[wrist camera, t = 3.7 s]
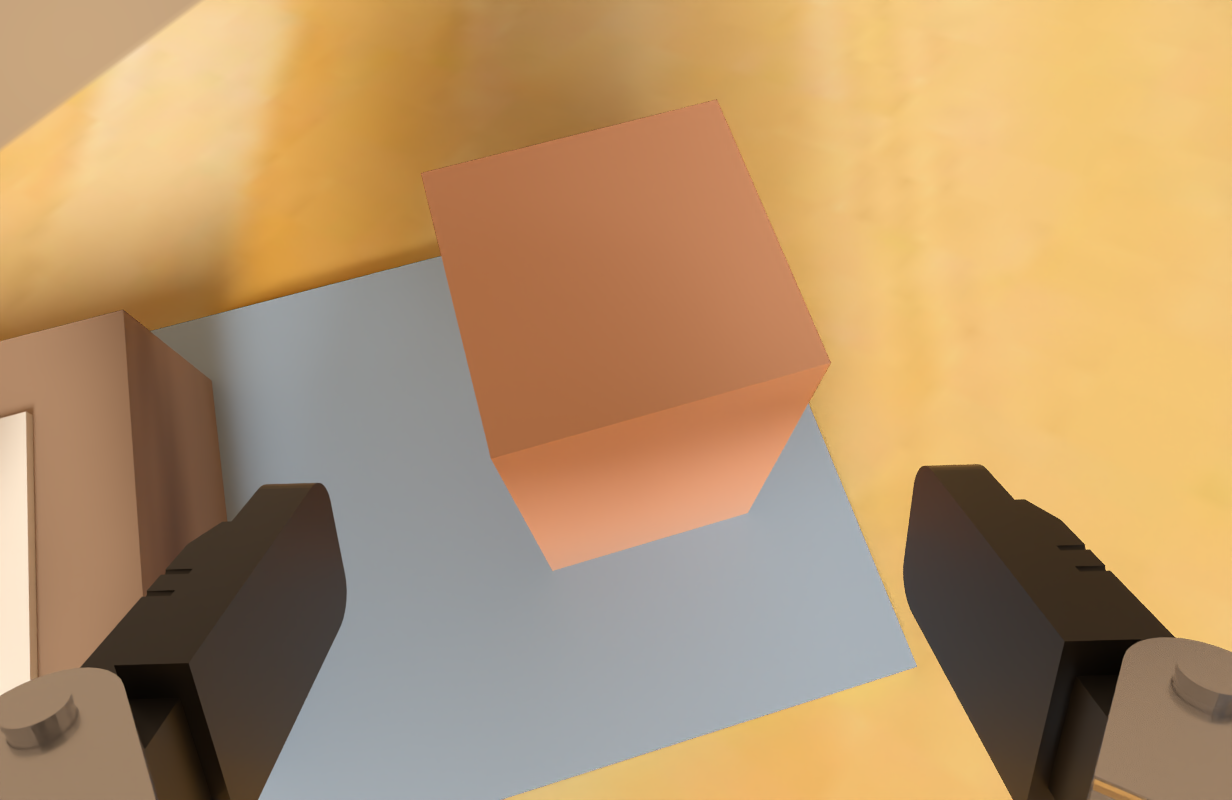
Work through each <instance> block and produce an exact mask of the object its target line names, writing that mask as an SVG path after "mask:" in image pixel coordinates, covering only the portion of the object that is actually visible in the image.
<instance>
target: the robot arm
mask: <svg viewBox="0 0 1232 800" xmlns="http://www.w3.org/2000/svg"><path fill="white" fill-rule="evenodd" d="M165 570H166V572H165V575H160V576H159V577H158V579H157V580H156V581H155V582H154V583H153V584H152V585H151V587H150V588H149V589H148V590H147V595H146V597H141V598H140V599H139V600H138V601H137V603H136V604H135V605H134V606H133V607H132V608H131V610H130V611H129V612H128V613H127V614H126V615H125V616H124V618H123V619H122V620H121V621H120V622H119V623H118V624H117V626H116V627H115V628H114V629H113V630H112V631H111V632H110V634H109V635H108V636H107V637H106V638H105V639H104V640H103V642H102V643H101V644H100V645H99V646H98V647H97V649H96V650H95V651H94V652H93V653H92V654H91V655H90V657H89V658H88V659H87V660H86V661H85V662H84V663H83V665H82V666H81V667H80V668H74V669H67V670H62V671H58V672H54V673H50V674H47V675H44V676H41V677H38V678H35V679H33V680H30V681H28V682H26V683H23V684H21V685H19V686H17V687H15V688H13V689H11V690H9V691H7V692H5V693H4V694H2V695H0V800H258V799H259V797H260V795H261V793H262V790H263V788H264V786H265V784H266V782H267V780H268V778H269V776H270V774H271V772H272V769H273V767H274V765H275V763H276V761H277V759H278V757H279V755H280V753H281V751H282V748H283V746H284V744H285V742H286V740H287V738H288V736H289V734H290V732H291V730H292V728H293V725H294V723H295V721H296V719H297V717H298V715H299V713H300V711H301V709H302V707H303V704H304V702H305V700H306V698H307V696H308V694H309V692H310V690H311V688H312V686H313V683H314V681H315V679H316V677H317V675H318V673H319V671H320V669H321V667H322V665H323V662H324V660H325V658H326V656H327V654H328V652H329V650H330V648H331V646H332V644H333V641H334V639H335V637H336V635H337V633H338V631H339V629H340V627H341V624H342V621H343V618H344V614H345V608H346V600H347V585H346V577H345V571H344V566H343V561H342V556H341V551H340V546H339V541H338V536H337V531H336V526H335V521H334V516H333V511H332V506H331V501H330V497H329V494H328V491H327V489H326V487H325V486H324V485H323V484H322V483H290V484H265V485H262V486H261V487H260V488H259V489H258V490H257V491H256V492H255V493H254V495H253V496H252V497H251V498H250V500H249V501H248V502H247V503H246V504H245V506H244V507H243V508H242V509H241V510H240V512H239V513H238V514H237V515H236V517H235V518H234V519H233V520H232V521H226V522H221V523H219V524H218V525H216V526H215V527H213V528H212V529H210V530H209V531H207V532H205V533H204V534H202V535H201V536H199V537H198V538H196V539H195V540H193V541H191V542H190V543H188V544H187V545H186V546H185V548H184V549H183V550H182V551H181V552H180V553H179V554H178V556H177V557H176V558H175V559H174V560H173V561H172V562H171V564H170V565H169V566H168V567H167V568H166V569H165ZM903 578H904V587H905V593H906V598H907V601H908V604H909V607H910V609H911V612H912V614H913V615H914V617H915V619H916V621H917V623H918V625H919V627H920V628H921V630H922V632H923V634H924V636H925V638H926V640H927V641H928V643H929V645H930V647H931V649H932V651H933V652H934V654H935V656H936V658H937V660H938V662H939V664H940V665H941V667H942V669H943V671H944V673H945V675H946V677H947V678H948V680H949V682H950V684H951V686H952V688H953V689H954V691H955V693H956V695H957V697H958V699H959V701H960V702H961V704H962V706H963V708H964V710H965V712H966V714H967V715H968V717H969V719H970V721H971V723H972V725H973V726H974V728H975V730H976V732H977V734H978V736H979V738H980V739H981V741H982V743H983V745H984V747H985V749H986V751H987V752H988V754H989V756H990V758H991V760H992V762H993V763H994V765H995V767H996V769H997V771H998V773H999V775H1000V776H1001V778H1002V780H1003V782H1004V784H1005V786H1006V788H1007V789H1008V791H1009V793H1010V795H1011V797H1012V799H1013V800H1232V652H1230V651H1228V650H1225V649H1222V648H1219V647H1216V646H1214V645H1210V644H1206V643H1203V642H1199V641H1194V640H1189V639H1182V638H1175V637H1174V636H1173V635H1172V634H1171V633H1170V632H1169V631H1168V630H1167V629H1166V628H1165V627H1164V626H1163V625H1162V624H1161V623H1160V622H1159V620H1158V619H1157V618H1156V617H1155V616H1154V615H1153V614H1152V613H1151V612H1150V611H1149V610H1148V609H1147V608H1146V607H1145V606H1144V605H1143V604H1142V603H1141V602H1140V601H1139V600H1138V599H1137V598H1136V597H1135V596H1134V595H1133V594H1132V593H1131V592H1130V591H1129V590H1128V589H1127V588H1126V587H1125V585H1124V584H1123V583H1122V582H1121V581H1120V580H1119V579H1118V578H1117V577H1116V576H1115V575H1114V574H1113V573H1112V572H1111V571H1106V570H1105V565H1104V564H1103V563H1102V562H1101V561H1100V560H1099V559H1098V558H1097V557H1096V556H1095V555H1094V554H1093V553H1092V551H1091V550H1086V549H1085V544H1084V543H1083V542H1082V541H1081V540H1080V539H1079V538H1078V537H1077V536H1076V535H1075V534H1074V533H1073V532H1072V531H1071V530H1070V529H1069V528H1068V527H1067V526H1066V525H1065V524H1064V523H1063V522H1062V521H1061V520H1060V519H1058V518H1056V517H1055V516H1053V515H1051V514H1049V513H1048V512H1046V511H1044V510H1042V509H1041V508H1039V507H1037V506H1035V505H1034V504H1032V503H1030V502H1028V501H1026V500H1014V499H1013V498H1012V496H1011V495H1010V494H1009V493H1008V492H1007V491H1006V490H1005V489H1004V488H1003V487H1002V486H1001V484H1000V483H999V482H998V481H997V480H996V479H995V478H994V477H993V476H992V475H991V473H990V472H989V471H988V470H987V469H986V468H985V467H984V466H982V465H978V464H973V465H940V466H923V467H921V468H920V469H919V471H918V472H917V475H916V478H915V482H914V488H913V496H912V503H911V511H910V519H909V526H908V534H907V541H906V549H905V557H904V566H903Z"/></svg>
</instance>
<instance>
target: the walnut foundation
mask: <svg viewBox="0 0 1232 800" xmlns="http://www.w3.org/2000/svg"><path fill="white" fill-rule="evenodd" d="M226 521H227V513H226V505H225V496H224V487H223V478H222V469H221V460H220V451H219V442H218V433H217V424H216V415H215V406H214V397H213V388H212V380H210V379H209V378H208V377H207V376H205V375H204V374H203V373H202V372H200V371H199V370H198V369H197V368H195V367H194V366H193V365H192V364H190V363H189V362H188V361H187V360H185V359H184V358H183V357H182V356H180V355H179V354H178V353H177V352H175V351H174V350H173V349H172V348H170V347H169V346H168V345H167V344H165V343H164V342H163V341H162V340H160V339H159V338H158V337H157V336H155V335H154V334H153V333H152V332H150V331H149V330H148V329H147V328H145V327H144V326H143V325H142V324H140V323H139V322H138V321H137V320H135V319H134V318H133V317H132V316H130V315H129V314H128V313H127V312H125V311H124V310H120V311H116V312H112V313H109V314H105V315H101V316H97V317H93V318H89V319H85V320H81V321H77V322H73V323H69V324H66V325H62V326H58V327H54V328H50V329H46V330H42V331H38V332H34V333H30V334H26V335H22V336H19V337H15V338H11V339H7V340H3V341H0V695H2V694H4V693H5V692H7V691H9V690H11V689H13V688H15V687H17V686H19V685H21V684H23V683H26V682H28V681H30V680H33V679H35V678H38V677H41V676H44V675H47V674H50V673H54V672H58V671H62V670H67V669H74V668H80V667H81V666H82V665H83V663H84V662H85V661H86V660H87V659H88V658H89V657H90V655H91V654H92V653H93V652H94V651H95V650H96V649H97V647H98V646H99V645H100V644H101V643H102V642H103V640H104V639H105V638H106V637H107V636H108V635H109V634H110V632H111V631H112V630H113V629H114V628H115V627H116V626H117V624H118V623H119V622H120V621H121V620H122V619H123V618H124V616H125V615H126V614H127V613H128V612H129V611H130V610H131V608H132V607H133V606H134V605H135V604H136V603H137V601H138V600H139V599H140V598H141V597H146V595H147V590H148V589H149V588H150V587H151V585H152V584H153V583H154V582H155V581H156V580H157V579H158V577H159V576H160V575H165V572H166V570H165V569H166V568H167V567H168V566H169V565H170V564H171V562H172V561H173V560H174V559H175V558H176V557H177V556H178V554H179V553H180V552H181V551H182V550H183V549H184V548H185V546H186V545H187V544H188V543H190V542H191V541H193V540H195V539H196V538H198V537H199V536H201V535H202V534H204V533H205V532H207V531H209V530H210V529H212V528H213V527H215V526H216V525H218V524H219V523H221V522H226Z"/></svg>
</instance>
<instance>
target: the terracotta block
mask: <svg viewBox="0 0 1232 800" xmlns="http://www.w3.org/2000/svg"><path fill="white" fill-rule="evenodd" d="M421 175H422V179H423V183H424V188H425V192H426V196H427V200H428V204H429V208H430V212H431V216H432V220H433V224H434V228H435V233H436V237H437V241H438V245H439V249H440V253H441V257H442V261H443V265H444V269H445V273H446V277H447V282H448V286H449V290H450V294H451V298H452V302H453V306H454V310H455V314H456V318H457V322H458V327H459V331H460V335H461V339H462V343H463V347H464V351H465V355H466V359H467V363H468V367H469V371H470V376H471V380H472V384H473V388H474V392H475V396H476V400H477V404H478V408H479V412H480V416H481V420H482V425H483V429H484V433H485V437H486V441H487V445H488V449H489V453H490V457H491V460H492V462H493V464H494V465H495V467H496V469H497V471H498V473H499V474H500V476H501V478H502V480H503V482H504V484H505V485H506V487H507V489H508V491H509V493H510V494H511V496H512V498H513V500H514V502H515V504H516V505H517V507H518V509H519V511H520V513H521V514H522V516H523V518H524V520H525V522H526V524H527V525H528V527H529V529H530V531H531V533H532V534H533V536H534V538H535V540H536V542H537V544H538V545H539V547H540V549H541V551H542V553H543V554H544V556H545V558H546V560H547V562H548V564H549V565H550V567H551V569H552V571H554V570H557V569H561V568H564V567H568V566H571V565H574V564H578V563H581V562H584V561H588V560H591V559H595V558H598V557H601V556H605V555H608V554H611V553H615V552H618V551H622V550H625V549H628V548H632V547H635V546H638V545H642V544H645V543H649V542H652V541H655V540H659V539H662V538H665V537H669V536H672V535H676V534H679V533H682V532H686V531H689V530H692V529H696V528H699V527H703V526H706V525H709V524H713V523H716V522H719V521H723V520H726V519H730V518H733V517H736V516H740V515H743V514H746V513H748V512H749V510H750V508H751V506H752V505H753V503H754V501H755V499H756V497H757V495H758V494H759V492H760V490H761V488H762V486H763V485H764V483H765V481H766V479H767V477H768V476H769V474H770V472H771V470H772V468H773V467H774V465H775V463H776V461H777V459H778V457H779V456H780V454H781V452H782V450H783V448H784V447H785V445H786V443H787V441H788V439H789V438H790V436H791V434H792V432H793V430H794V429H795V427H796V425H797V423H798V421H799V420H800V418H801V416H802V414H803V412H804V410H805V409H806V407H807V405H808V403H809V401H810V400H811V398H812V396H813V394H814V392H815V391H816V389H817V387H818V385H819V383H820V382H821V380H822V378H823V376H824V374H825V372H826V371H827V369H828V367H829V365H830V363H831V362H830V360H829V357H828V355H827V353H826V351H825V348H824V346H823V344H822V341H821V339H820V337H819V334H818V332H817V330H816V327H815V325H814V323H813V320H812V318H811V316H810V314H809V311H808V309H807V307H806V304H805V302H804V300H803V297H802V295H801V293H800V290H799V288H798V286H797V283H796V281H795V279H794V277H793V274H792V272H791V270H790V267H789V265H788V263H787V260H786V258H785V256H784V253H783V251H782V249H781V247H780V244H779V242H778V240H777V237H776V235H775V233H774V230H773V228H772V226H771V223H770V221H769V219H768V216H767V214H766V212H765V210H764V207H763V205H762V203H761V200H760V198H759V196H758V193H757V191H756V189H755V186H754V184H753V182H752V179H751V177H750V175H749V173H748V170H747V168H746V166H745V163H744V161H743V159H742V156H741V154H740V152H739V149H738V147H737V145H736V142H735V140H734V138H733V136H732V133H731V131H730V129H729V126H728V124H727V122H726V119H725V117H724V115H723V112H722V110H721V108H720V105H719V103H718V101H717V100H713V101H709V102H705V103H701V104H697V105H693V106H688V107H684V108H680V109H676V110H672V111H668V112H664V113H660V114H656V115H652V116H648V117H644V118H640V119H636V120H632V121H628V122H624V123H620V124H616V125H612V126H608V127H604V128H600V129H596V130H592V131H588V132H584V133H580V134H576V135H572V136H568V137H564V138H560V139H556V140H552V141H548V142H544V143H540V144H536V145H532V146H528V147H524V148H520V149H516V150H512V151H508V152H504V153H500V154H496V155H492V156H488V157H483V158H479V159H475V160H471V161H467V162H463V163H459V164H455V165H451V166H447V167H443V168H439V169H435V170H431V171H427V172H423V173H421Z"/></svg>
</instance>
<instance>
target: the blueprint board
mask: <svg viewBox="0 0 1232 800" xmlns="http://www.w3.org/2000/svg"><path fill="white" fill-rule="evenodd" d="M150 332H152V333H153V334H154V335H155V336H157V337H158V338H159V339H160V340H162V341H163V342H164V343H165V344H167V345H168V346H169V347H170V348H172V349H173V350H174V351H175V352H177V353H178V354H179V355H180V356H182V357H183V358H184V359H185V360H187V361H188V362H189V363H190V364H192V365H193V366H194V367H195V368H197V369H198V370H199V371H200V372H202V373H203V374H204V375H205V376H207V377H208V378H209V379H210V380H212V388H213V397H214V406H215V415H216V424H217V433H218V442H219V451H220V460H221V469H222V478H223V487H224V496H225V505H226V513H227V521H232V520H233V519H234V518H235V517H236V515H237V514H238V513H239V512H240V510H241V509H242V508H243V507H244V506H245V504H246V503H247V502H248V501H249V500H250V498H251V497H252V496H253V495H254V493H255V492H256V491H257V490H258V489H259V488H260V487H261V486H262V485H265V484H290V483H322V484H323V485H324V486H325V487H326V489H327V491H328V494H329V497H330V501H331V506H332V511H333V516H334V521H335V526H336V531H337V536H338V541H339V546H340V551H341V556H342V561H343V566H344V571H345V577H346V585H347V600H346V608H345V614H344V618H343V621H342V624H341V627H340V629H339V631H338V633H337V635H336V637H335V639H334V641H333V644H332V646H331V648H330V650H329V652H328V654H327V656H326V658H325V660H324V662H323V665H322V667H321V669H320V671H319V673H318V675H317V677H316V679H315V681H314V683H313V686H312V688H311V690H310V692H309V694H308V696H307V698H306V700H305V702H304V704H303V707H302V709H301V711H300V713H299V715H298V717H297V719H296V721H295V723H294V725H293V728H292V730H291V732H290V734H289V736H288V738H287V740H286V742H285V744H284V746H283V748H282V751H281V753H280V755H279V757H278V759H277V761H276V763H275V765H274V767H273V769H272V772H271V774H270V776H269V778H268V780H267V782H266V784H265V786H264V788H263V790H262V793H261V795H260V797H259V799H258V800H502V799H505V798H508V797H511V796H514V795H517V794H521V793H524V792H527V791H530V790H533V789H536V788H539V787H542V786H546V785H549V784H552V783H555V782H558V781H561V780H564V779H567V778H571V777H574V776H577V775H580V774H583V773H586V772H589V771H592V770H596V769H599V768H602V767H605V766H608V765H611V764H614V763H617V762H621V761H624V760H627V759H630V758H633V757H636V756H639V755H642V754H646V753H649V752H652V751H655V750H658V749H661V748H664V747H668V746H671V745H674V744H677V743H680V742H683V741H686V740H689V739H693V738H696V737H699V736H702V735H705V734H708V733H711V732H714V731H718V730H721V729H724V728H727V727H730V726H733V725H736V724H739V723H743V722H746V721H749V720H752V719H755V718H758V717H761V716H764V715H768V714H771V713H774V712H777V711H780V710H783V709H786V708H789V707H793V706H796V705H799V704H802V703H805V702H808V701H811V700H814V699H818V698H821V697H824V696H827V695H830V694H833V693H836V692H840V691H843V690H846V689H849V688H852V687H855V686H858V685H861V684H865V683H868V682H871V681H874V680H877V679H880V678H883V677H886V676H890V675H893V674H896V673H899V672H902V671H905V670H908V669H911V668H915V667H917V665H916V663H915V660H914V658H913V656H912V653H911V651H910V648H909V646H908V643H907V641H906V639H905V636H904V634H903V631H902V629H901V626H900V624H899V622H898V619H897V617H896V614H895V612H894V609H893V607H892V605H891V602H890V600H889V597H888V595H887V593H886V590H885V588H884V585H883V583H882V580H881V578H880V576H879V573H878V571H877V568H876V566H875V563H874V561H873V559H872V556H871V554H870V551H869V549H868V546H867V544H866V542H865V539H864V537H863V534H862V532H861V529H860V527H859V525H858V522H857V520H856V517H855V515H854V513H853V510H852V508H851V505H850V503H849V500H848V498H847V496H846V493H845V491H844V488H843V486H842V483H841V481H840V479H839V476H838V474H837V471H836V469H835V466H834V464H833V462H832V459H831V457H830V454H829V452H828V449H827V447H826V445H825V442H824V440H823V437H822V435H821V432H820V430H819V428H818V425H817V423H816V420H815V418H814V416H813V413H812V411H811V408H810V406H809V403H808V405H807V407H806V409H805V410H804V412H803V414H802V416H801V418H800V420H799V421H798V423H797V425H796V427H795V429H794V430H793V432H792V434H791V436H790V438H789V439H788V441H787V443H786V445H785V447H784V448H783V450H782V452H781V454H780V456H779V457H778V459H777V461H776V463H775V465H774V467H773V468H772V470H771V472H770V474H769V476H768V477H767V479H766V481H765V483H764V485H763V486H762V488H761V490H760V492H759V494H758V495H757V497H756V499H755V501H754V503H753V505H752V506H751V508H750V510H749V512H748V513H746V514H743V515H740V516H736V517H733V518H730V519H726V520H723V521H719V522H716V523H713V524H709V525H706V526H703V527H699V528H696V529H692V530H689V531H686V532H682V533H679V534H676V535H672V536H669V537H665V538H662V539H659V540H655V541H652V542H649V543H645V544H642V545H638V546H635V547H632V548H628V549H625V550H622V551H618V552H615V553H611V554H608V555H605V556H601V557H598V558H595V559H591V560H588V561H584V562H581V563H578V564H574V565H571V566H568V567H564V568H561V569H557V570H554V571H552V569H551V567H550V565H549V564H548V562H547V560H546V558H545V556H544V554H543V553H542V551H541V549H540V547H539V545H538V544H537V542H536V540H535V538H534V536H533V534H532V533H531V531H530V529H529V527H528V525H527V524H526V522H525V520H524V518H523V516H522V514H521V513H520V511H519V509H518V507H517V505H516V504H515V502H514V500H513V498H512V496H511V494H510V493H509V491H508V489H507V487H506V485H505V484H504V482H503V480H502V478H501V476H500V474H499V473H498V471H497V469H496V467H495V465H494V464H493V462H492V460H491V457H490V453H489V449H488V445H487V441H486V437H485V433H484V429H483V425H482V420H481V416H480V412H479V408H478V404H477V400H476V396H475V392H474V388H473V384H472V380H471V376H470V371H469V367H468V363H467V359H466V355H465V351H464V347H463V343H462V339H461V335H460V331H459V327H458V322H457V318H456V314H455V310H454V306H453V302H452V298H451V294H450V290H449V286H448V282H447V277H446V273H445V269H444V265H443V261H442V257H441V256H439V257H435V258H431V259H427V260H424V261H420V262H416V263H412V264H408V265H404V266H400V267H396V268H393V269H389V270H385V271H381V272H377V273H373V274H369V275H365V276H362V277H358V278H354V279H350V280H346V281H342V282H338V283H335V284H331V285H327V286H323V287H319V288H315V289H311V290H307V291H304V292H300V293H296V294H292V295H288V296H284V297H280V298H276V299H273V300H269V301H265V302H261V303H257V304H253V305H249V306H245V307H242V308H238V309H234V310H230V311H226V312H222V313H218V314H215V315H211V316H207V317H203V318H199V319H195V320H191V321H187V322H184V323H180V324H176V325H172V326H168V327H164V328H160V329H156V330H153V331H150Z"/></svg>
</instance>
